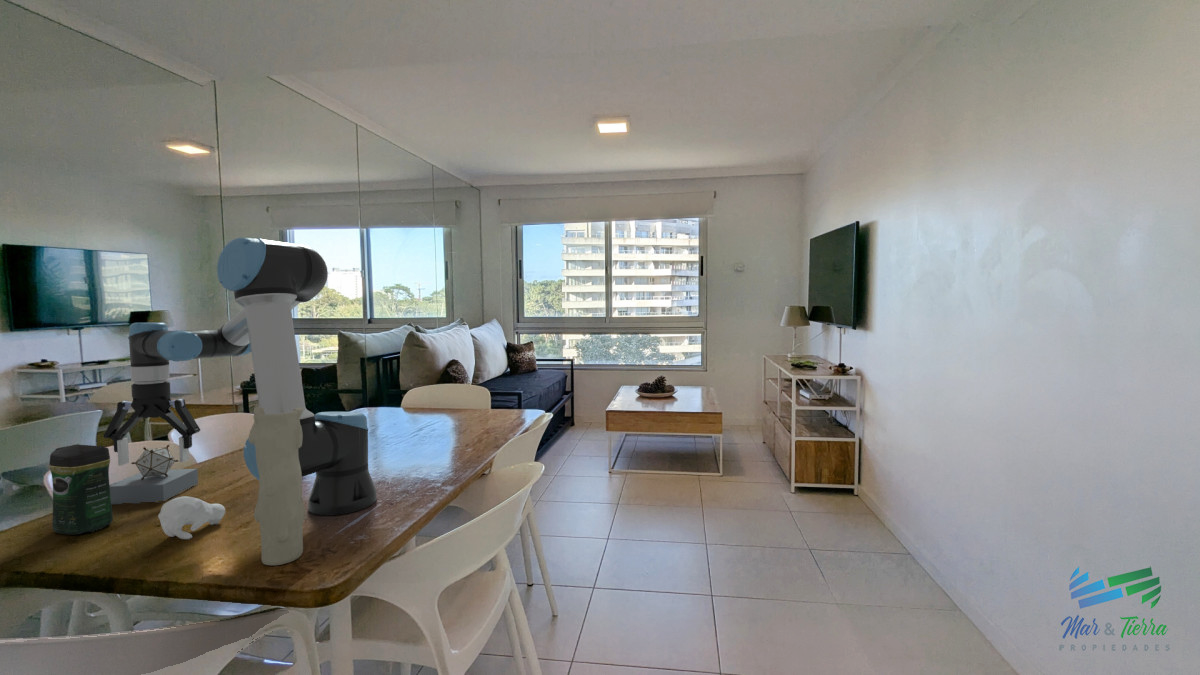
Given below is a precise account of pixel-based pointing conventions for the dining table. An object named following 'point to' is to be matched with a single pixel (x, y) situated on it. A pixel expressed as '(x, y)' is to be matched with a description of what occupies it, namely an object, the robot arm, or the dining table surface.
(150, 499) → the grey square block
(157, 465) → the game die
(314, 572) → the dining table surface
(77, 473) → the coffee jar
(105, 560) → the dining table surface
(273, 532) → the vase
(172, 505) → the white animal figurine
